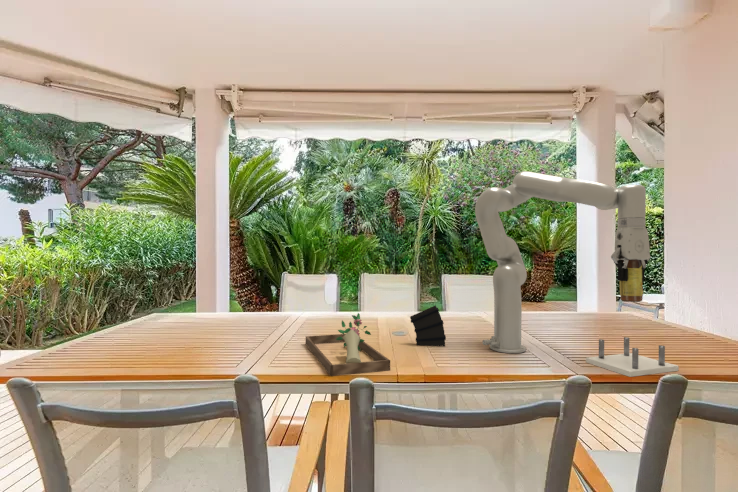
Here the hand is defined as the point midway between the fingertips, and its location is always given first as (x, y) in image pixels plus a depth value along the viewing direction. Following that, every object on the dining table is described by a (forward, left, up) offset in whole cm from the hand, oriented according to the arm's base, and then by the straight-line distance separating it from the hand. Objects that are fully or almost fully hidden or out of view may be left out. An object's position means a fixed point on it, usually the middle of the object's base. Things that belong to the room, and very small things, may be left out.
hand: (630, 280), depth 134 cm
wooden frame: (-84, +39, -27) cm, 97 cm away
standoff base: (0, 0, -27) cm, 27 cm away
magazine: (-49, +45, -28) cm, 72 cm away
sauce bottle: (0, 0, -7) cm, 7 cm away
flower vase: (-81, +36, -28) cm, 93 cm away
